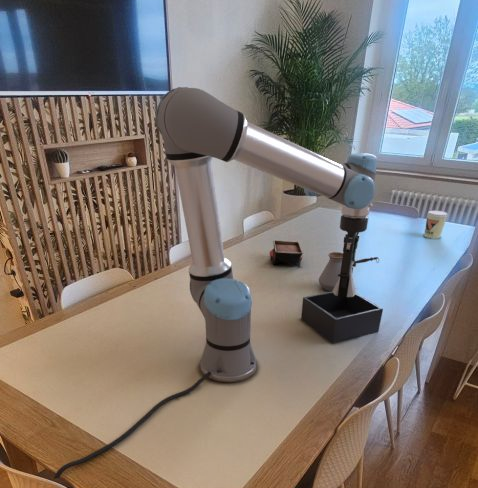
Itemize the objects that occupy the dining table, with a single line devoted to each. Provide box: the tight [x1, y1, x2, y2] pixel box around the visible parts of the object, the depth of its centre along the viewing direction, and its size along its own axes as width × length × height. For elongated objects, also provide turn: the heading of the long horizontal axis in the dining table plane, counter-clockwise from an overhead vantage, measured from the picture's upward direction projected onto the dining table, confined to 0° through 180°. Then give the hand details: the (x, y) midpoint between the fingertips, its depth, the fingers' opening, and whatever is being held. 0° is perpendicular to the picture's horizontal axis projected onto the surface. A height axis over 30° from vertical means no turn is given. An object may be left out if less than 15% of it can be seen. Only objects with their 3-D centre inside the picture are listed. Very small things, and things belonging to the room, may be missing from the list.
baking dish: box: [269, 239, 304, 268], centre depth 188 cm, size 14×18×10 cm
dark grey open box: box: [300, 291, 384, 344], centre depth 138 cm, size 18×18×8 cm
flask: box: [331, 261, 357, 297], centre depth 131 cm, size 7×7×10 cm
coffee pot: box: [318, 251, 380, 292], centre depth 160 cm, size 21×12×15 cm, turn 54°
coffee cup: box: [423, 210, 448, 240], centre depth 222 cm, size 9×9×12 cm
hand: (344, 291), depth 134 cm, fingers closed on flask, 7 cm apart
